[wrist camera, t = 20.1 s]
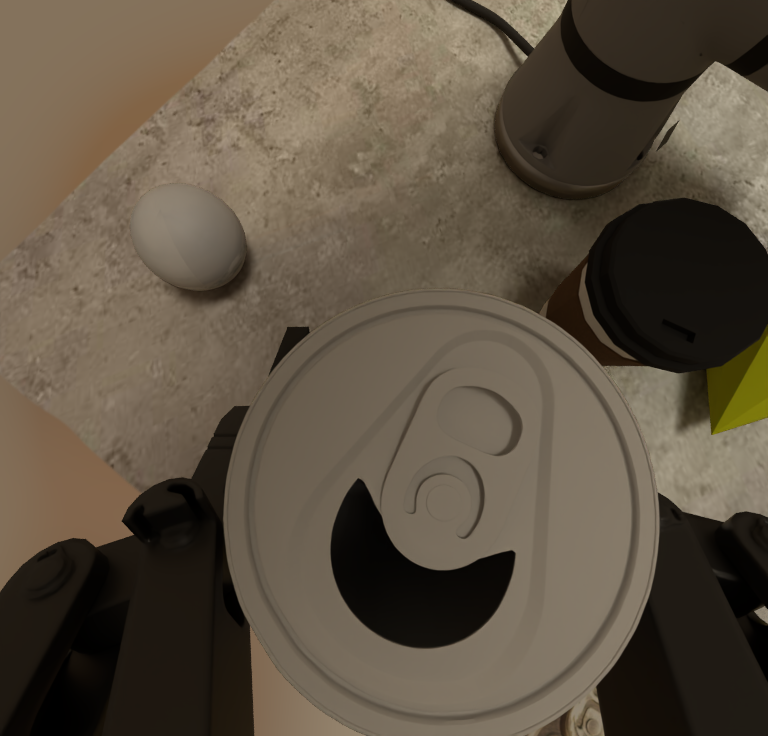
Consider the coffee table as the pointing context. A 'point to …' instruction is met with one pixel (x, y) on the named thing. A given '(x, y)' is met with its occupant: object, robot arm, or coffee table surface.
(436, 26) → the coffee table surface
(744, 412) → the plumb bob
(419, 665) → the beverage can
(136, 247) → the bath bomb
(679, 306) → the coffee cup
